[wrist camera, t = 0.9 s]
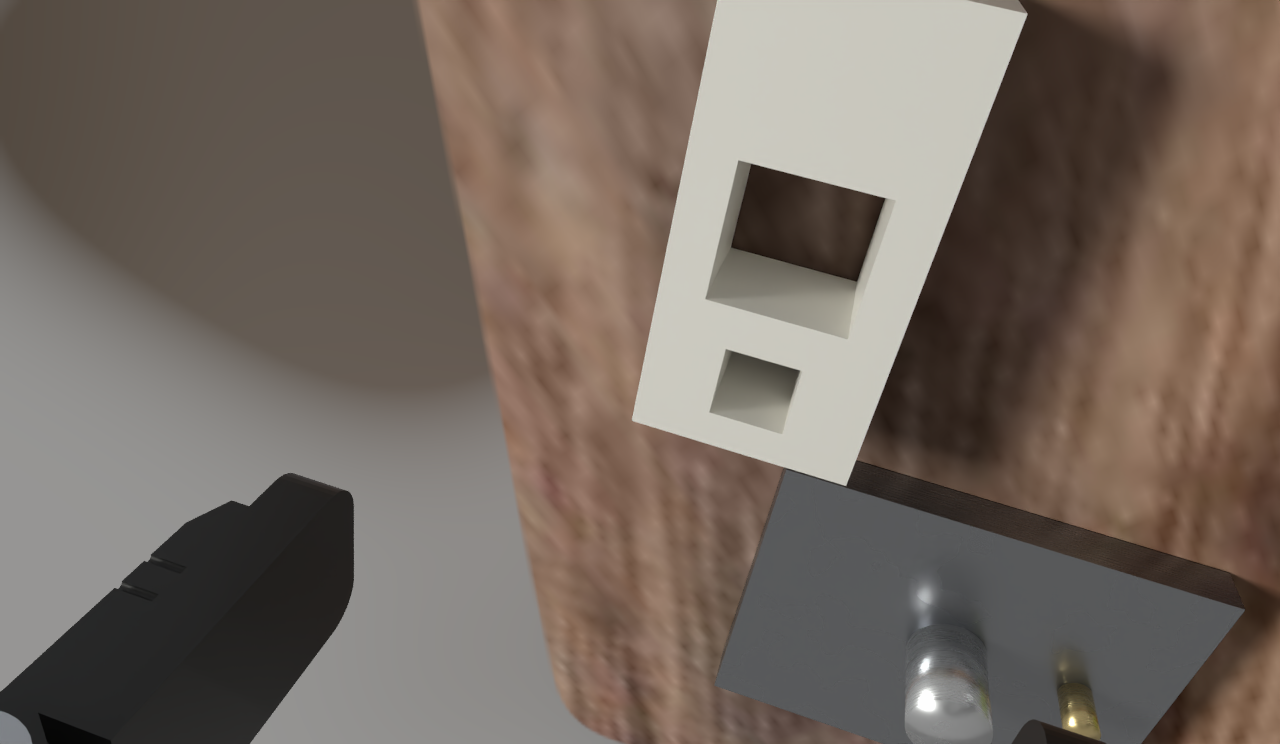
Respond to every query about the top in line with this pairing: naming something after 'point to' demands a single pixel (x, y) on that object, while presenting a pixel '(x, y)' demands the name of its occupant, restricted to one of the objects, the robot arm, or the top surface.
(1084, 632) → the base plate
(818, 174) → the white block with recesses
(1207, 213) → the top surface
